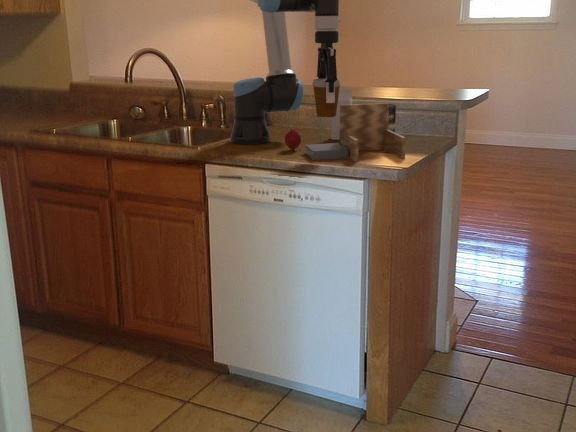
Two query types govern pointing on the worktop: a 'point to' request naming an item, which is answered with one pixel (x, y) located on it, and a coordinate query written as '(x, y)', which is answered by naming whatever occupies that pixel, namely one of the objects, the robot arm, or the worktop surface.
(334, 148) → the trivet
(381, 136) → the brown patterned armchair
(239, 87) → the robot arm
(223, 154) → the worktop surface
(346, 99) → the milk carton
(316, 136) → the worktop surface
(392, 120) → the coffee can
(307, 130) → the worktop surface
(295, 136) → the onion
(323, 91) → the disposable coffee cup
